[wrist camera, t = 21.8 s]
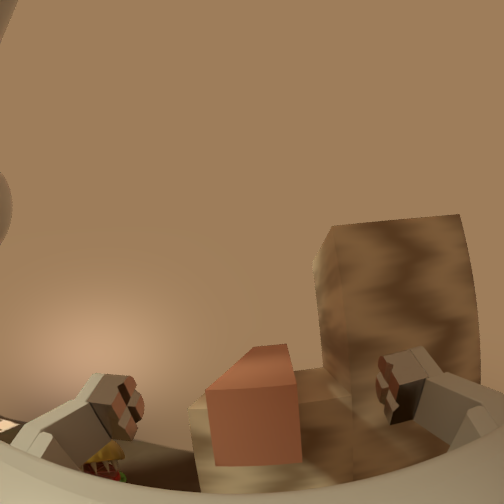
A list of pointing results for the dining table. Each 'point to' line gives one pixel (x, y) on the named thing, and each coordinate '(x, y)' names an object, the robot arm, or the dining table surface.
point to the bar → (256, 411)
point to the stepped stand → (366, 354)
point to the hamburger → (106, 463)
